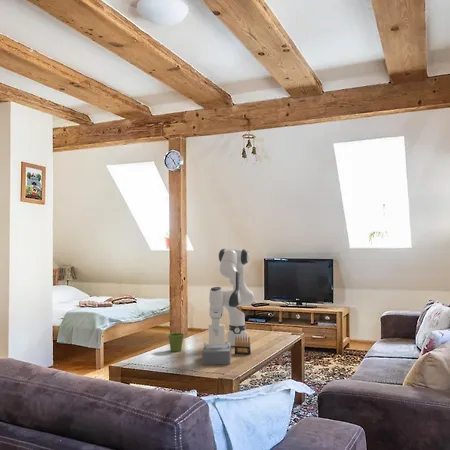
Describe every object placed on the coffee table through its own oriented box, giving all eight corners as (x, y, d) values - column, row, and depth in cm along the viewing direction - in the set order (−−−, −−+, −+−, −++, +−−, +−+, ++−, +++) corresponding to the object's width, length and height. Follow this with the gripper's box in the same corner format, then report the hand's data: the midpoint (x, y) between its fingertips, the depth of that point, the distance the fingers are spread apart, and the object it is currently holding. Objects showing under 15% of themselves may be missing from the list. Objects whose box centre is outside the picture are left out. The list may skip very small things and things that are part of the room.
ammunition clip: (234, 353, 338) (234, 335, 339) (235, 353, 340) (235, 335, 340) (250, 354, 335) (249, 336, 336) (250, 354, 337) (250, 335, 337)
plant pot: (182, 352, 344) (181, 336, 344) (165, 352, 346) (165, 335, 346) (186, 349, 355) (186, 332, 355) (170, 348, 357) (170, 332, 358)
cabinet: (205, 356, 331) (204, 339, 331) (231, 356, 330) (230, 339, 330) (202, 364, 310) (202, 346, 310) (230, 364, 309) (229, 346, 310)
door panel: (209, 343, 322) (209, 324, 323) (225, 343, 322) (224, 324, 322) (208, 344, 319) (208, 325, 320) (224, 344, 319) (224, 325, 319)
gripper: (212, 310, 332) (212, 332, 331) (210, 315, 311) (210, 338, 311) (222, 310, 331) (222, 332, 331) (220, 315, 311) (221, 338, 310)
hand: (216, 335), depth 321 cm, fingers closed on door panel, 3 cm apart
